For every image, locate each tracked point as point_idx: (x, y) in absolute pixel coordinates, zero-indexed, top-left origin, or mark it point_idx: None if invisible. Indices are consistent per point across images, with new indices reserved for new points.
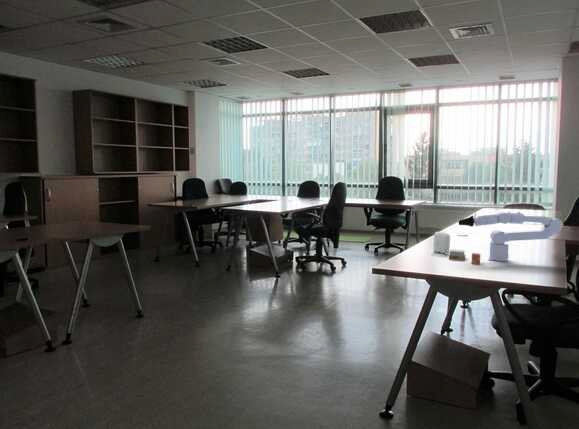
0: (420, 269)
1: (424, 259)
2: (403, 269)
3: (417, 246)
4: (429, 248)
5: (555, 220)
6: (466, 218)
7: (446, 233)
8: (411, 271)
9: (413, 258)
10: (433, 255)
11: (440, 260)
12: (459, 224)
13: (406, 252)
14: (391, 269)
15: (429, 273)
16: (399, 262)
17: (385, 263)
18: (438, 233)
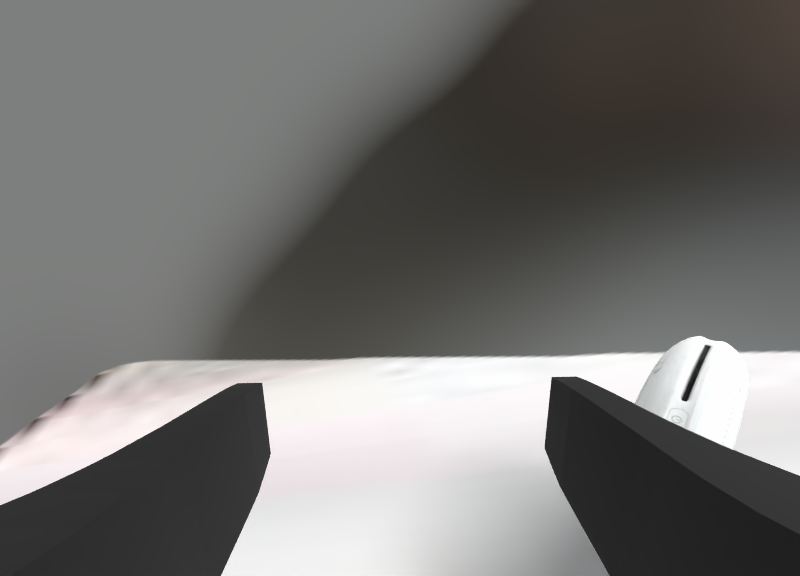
0: (25, 482)
1: (300, 458)
2: (62, 426)
3: (768, 355)
4: (780, 419)
5: None
6: (75, 476)
7: (682, 415)
8: (4, 457)
9: (322, 411)
10: (471, 484)
11: (273, 555)
12: (549, 450)
13: (488, 359)
14: (82, 396)
15: None
16: (216, 388)
17: (201, 362)
18: (660, 361)
